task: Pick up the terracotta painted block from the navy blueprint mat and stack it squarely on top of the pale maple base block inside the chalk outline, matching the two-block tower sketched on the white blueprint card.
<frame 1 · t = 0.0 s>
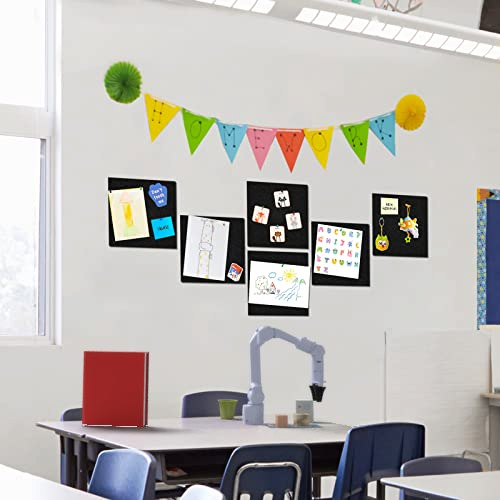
hand: (317, 401, 455), 10 cm above the table, fingers open, 7 cm apart
blueprint mat: (293, 426, 442), on the table
plant pot: (227, 419, 475), on the table
book: (114, 426, 435), on the table
maple base block: (301, 425, 444), resting on blueprint mat
small box: (304, 423, 461), on the table, touching gripper
terracotta block: (281, 426, 438), resting on blueprint mat
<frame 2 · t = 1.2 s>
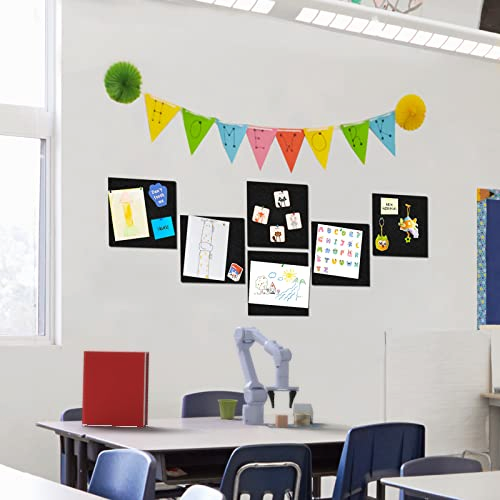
hand: (281, 408, 438), 8 cm above the table, fingers open, 7 cm apart
maple base block: (301, 425, 444), resting on blueprint mat, touching small box
small box: (304, 418, 459), point 2 cm above the table, touching maple base block
everything else where it was.
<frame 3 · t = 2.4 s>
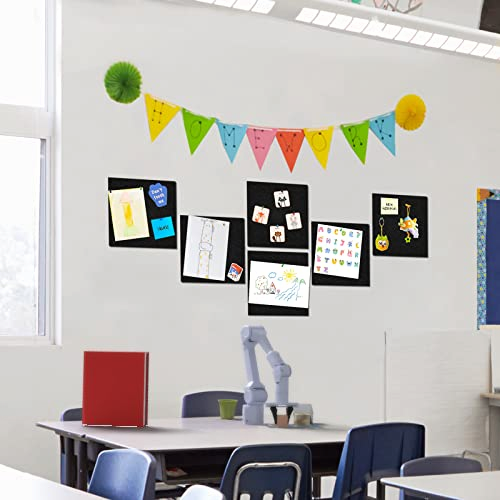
hand: (281, 424, 438), 2 cm above the table, fingers closed on terracotta block, 4 cm apart
terracotta block: (281, 426, 438), resting on blueprint mat, touching gripper
everything else where it was.
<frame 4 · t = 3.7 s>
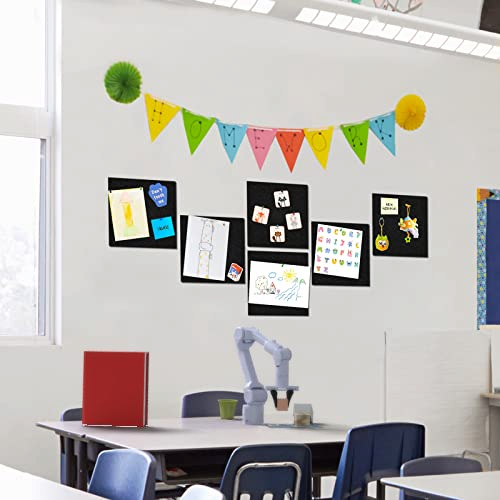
hand: (281, 407, 438), 9 cm above the table, fingers closed on terracotta block, 4 cm apart
terracotta block: (281, 410, 438), point 7 cm above the table, touching gripper
everything else where it was.
when the fingers open (8 cm above the table, at t = 5.3 s): terracotta block drops 1 cm, resting on maple base block.
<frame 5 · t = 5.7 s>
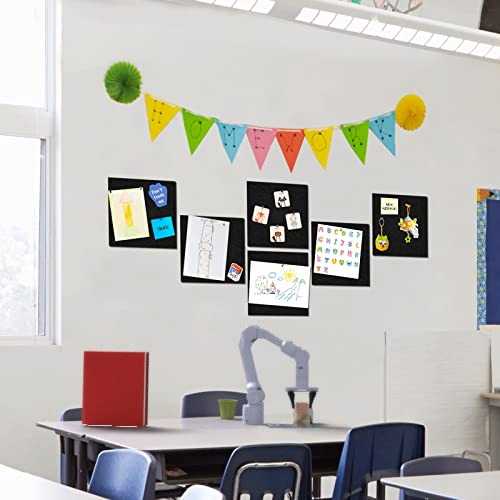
hand: (301, 408, 445), 8 cm above the table, fingers open, 7 cm apart
maple base block: (301, 425, 444), resting on blueprint mat, touching small box, terracotta block
terracotta block: (301, 414, 445), point 5 cm above the table, touching maple base block
everything else where it was.
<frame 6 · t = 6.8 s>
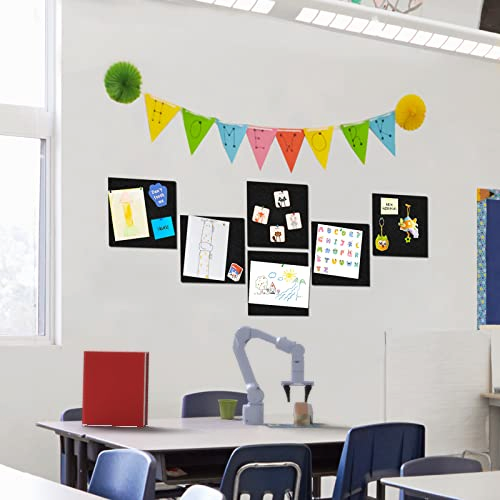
hand: (297, 402, 448), 10 cm above the table, fingers open, 7 cm apart
maple base block: (301, 425, 444), resting on blueprint mat, touching terracotta block
small box: (304, 418, 459), point 2 cm above the table
terracotta block: (301, 414, 445), point 5 cm above the table, touching gripper, maple base block
everything else where it was.
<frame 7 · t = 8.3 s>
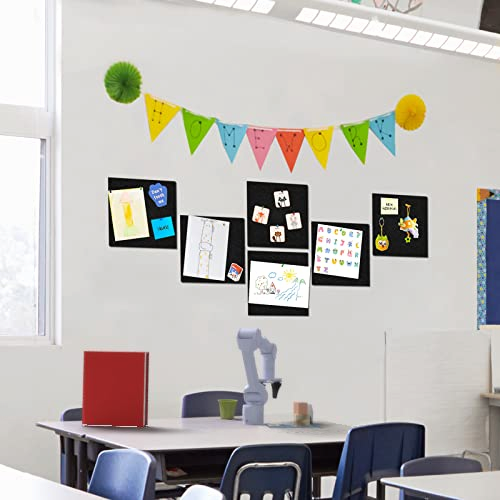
hand: (268, 398, 465), 10 cm above the table, fingers open, 7 cm apart
maple base block: (301, 425, 444), resting on blueprint mat, touching small box, terracotta block
small box: (304, 418, 459), point 2 cm above the table, touching maple base block
terracotta block: (300, 413, 445), point 5 cm above the table, touching maple base block
everything else where it was.
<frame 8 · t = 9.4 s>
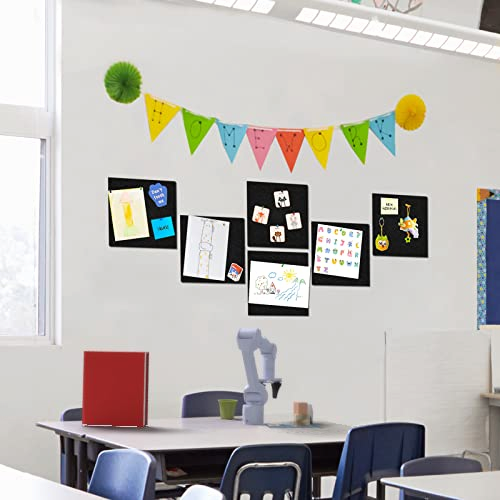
hand: (268, 398, 465), 10 cm above the table, fingers open, 7 cm apart
nothing on the table moved.
at the end: terracotta block 1.0 cm off-centre on the maple base block, point 5.0 cm above the maple base block's base; terracotta block tilted 0°; the gripper is holding nothing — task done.
